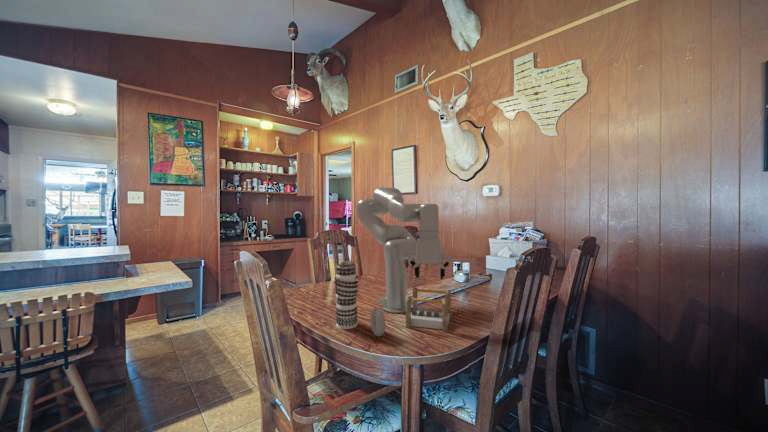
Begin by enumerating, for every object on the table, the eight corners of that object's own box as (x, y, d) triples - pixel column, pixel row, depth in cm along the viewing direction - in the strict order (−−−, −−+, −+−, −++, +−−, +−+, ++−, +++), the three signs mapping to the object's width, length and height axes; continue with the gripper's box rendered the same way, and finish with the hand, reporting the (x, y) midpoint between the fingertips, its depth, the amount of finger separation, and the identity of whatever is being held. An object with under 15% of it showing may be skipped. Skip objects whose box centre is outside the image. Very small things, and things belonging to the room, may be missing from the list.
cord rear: (416, 291, 130) (416, 289, 130) (416, 291, 131) (416, 288, 131) (447, 294, 126) (447, 291, 126) (447, 293, 127) (447, 291, 127)
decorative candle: (342, 319, 127) (341, 259, 126) (362, 322, 124) (361, 260, 123) (330, 327, 119) (329, 263, 118) (351, 330, 115) (350, 265, 114)
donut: (386, 340, 107) (386, 312, 107) (377, 341, 106) (377, 313, 105) (378, 329, 116) (377, 303, 116) (369, 330, 115) (369, 304, 115)
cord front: (409, 300, 117) (409, 298, 117) (409, 300, 118) (409, 297, 118) (443, 303, 114) (443, 301, 114) (443, 303, 115) (443, 300, 114)
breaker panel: (408, 325, 120) (408, 313, 120) (413, 316, 130) (413, 305, 129) (446, 329, 116) (446, 317, 115) (449, 320, 125) (449, 308, 125)
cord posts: (405, 327, 118) (405, 297, 117) (413, 314, 132) (413, 287, 132) (447, 332, 113) (447, 300, 113) (451, 318, 127) (451, 289, 127)
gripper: (405, 235, 120) (406, 278, 121) (450, 235, 115) (451, 281, 115) (409, 233, 127) (410, 274, 128) (452, 234, 122) (452, 276, 123)
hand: (429, 277), depth 122 cm, fingers open, 9 cm apart
